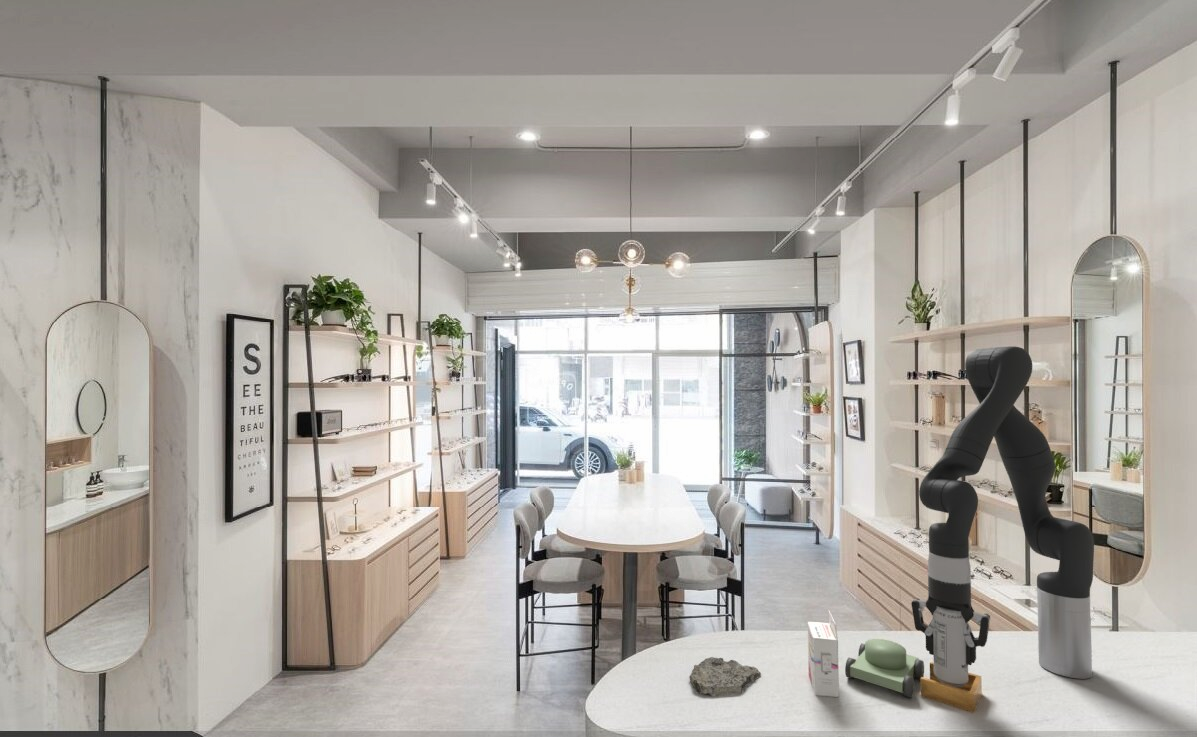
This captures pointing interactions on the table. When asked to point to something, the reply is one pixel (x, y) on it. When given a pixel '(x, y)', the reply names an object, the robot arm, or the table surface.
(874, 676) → the green toy car
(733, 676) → the stone slab
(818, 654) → the ink cartridge box
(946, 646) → the energy drink can
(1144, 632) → the table surface
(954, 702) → the bracket
